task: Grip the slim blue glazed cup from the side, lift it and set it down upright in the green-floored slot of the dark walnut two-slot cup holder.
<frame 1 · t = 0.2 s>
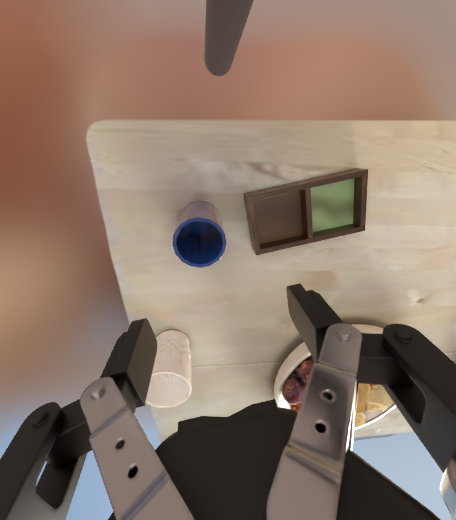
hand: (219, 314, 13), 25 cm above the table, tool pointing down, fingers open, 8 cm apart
holder: (302, 210, 37), on the table
bowl: (334, 369, 53), on the table
white cup: (172, 342, 45), on the table
cup: (200, 221, 36), on the table
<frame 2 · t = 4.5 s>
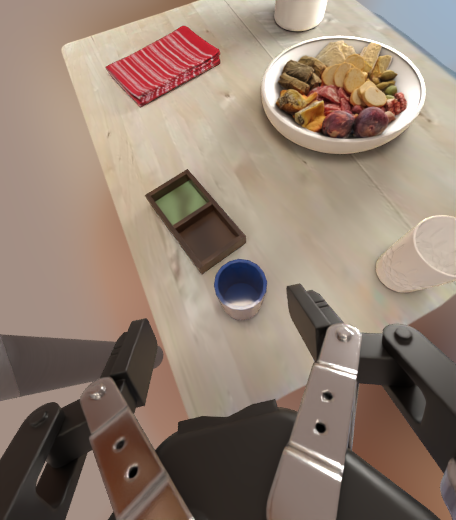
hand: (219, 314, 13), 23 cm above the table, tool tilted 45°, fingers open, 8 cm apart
holder: (195, 222, 42), on the table
cylinder vase: (297, 19, 62), on the table
dish towel: (165, 69, 58), on the table
bowl: (331, 108, 50), on the table
white cup: (397, 272, 37), on the table
cup: (241, 300, 36), on the table
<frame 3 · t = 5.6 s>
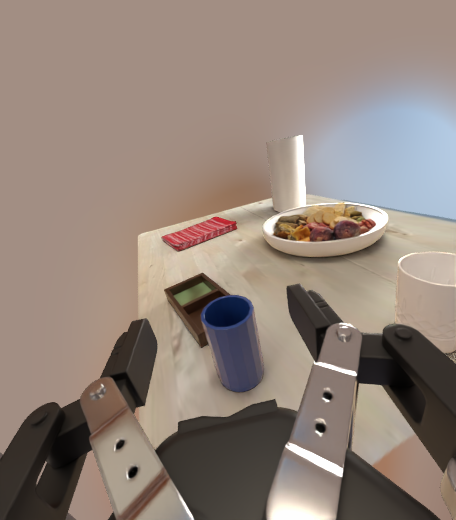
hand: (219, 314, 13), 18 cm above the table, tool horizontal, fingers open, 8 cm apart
holder: (203, 308, 45), on the table
cylinder vase: (289, 208, 94), on the table
dish towel: (200, 235, 85), on the table
bowl: (319, 237, 64), on the table
white cup: (425, 334, 31), on the table
cup: (241, 370, 31), on the table
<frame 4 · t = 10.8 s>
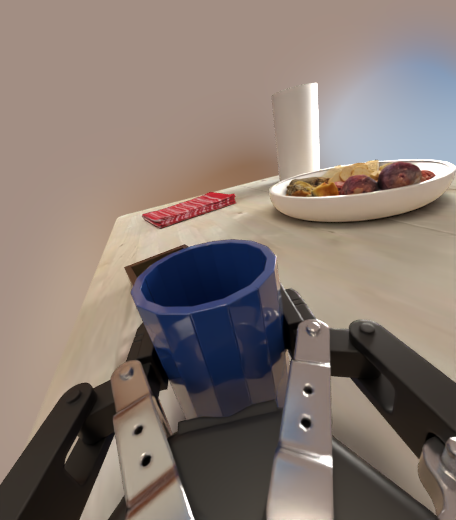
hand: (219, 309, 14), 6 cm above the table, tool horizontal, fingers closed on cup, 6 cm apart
holder: (181, 293, 28), on the table
cylinder vase: (299, 181, 78), on the table
dish towel: (190, 212, 69), on the table
bowl: (347, 203, 47), on the table
cup: (243, 412, 14), on the table, touching gripper
when the fingers open (7 cm above the table, at t = 19.4 s): cup stays where it is, resting on holder.
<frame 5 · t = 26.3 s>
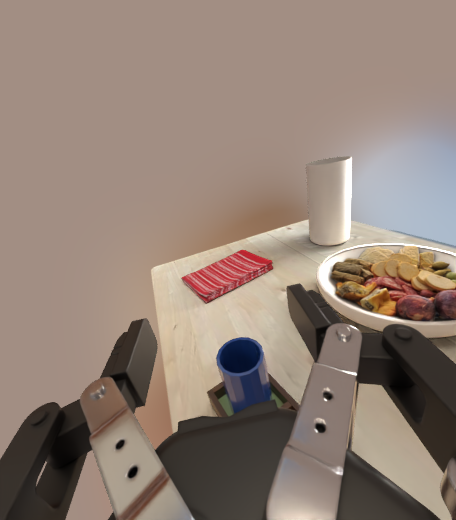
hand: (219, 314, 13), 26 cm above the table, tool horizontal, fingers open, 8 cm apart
holder: (270, 432, 31), on the table
cylinder vase: (329, 239, 80), on the table
dish towel: (227, 275, 72), on the table
bowl: (392, 294, 50), on the table
cup: (251, 404, 34), point 1 cm above the table, touching holder
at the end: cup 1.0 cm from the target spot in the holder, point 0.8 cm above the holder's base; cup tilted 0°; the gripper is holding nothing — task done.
